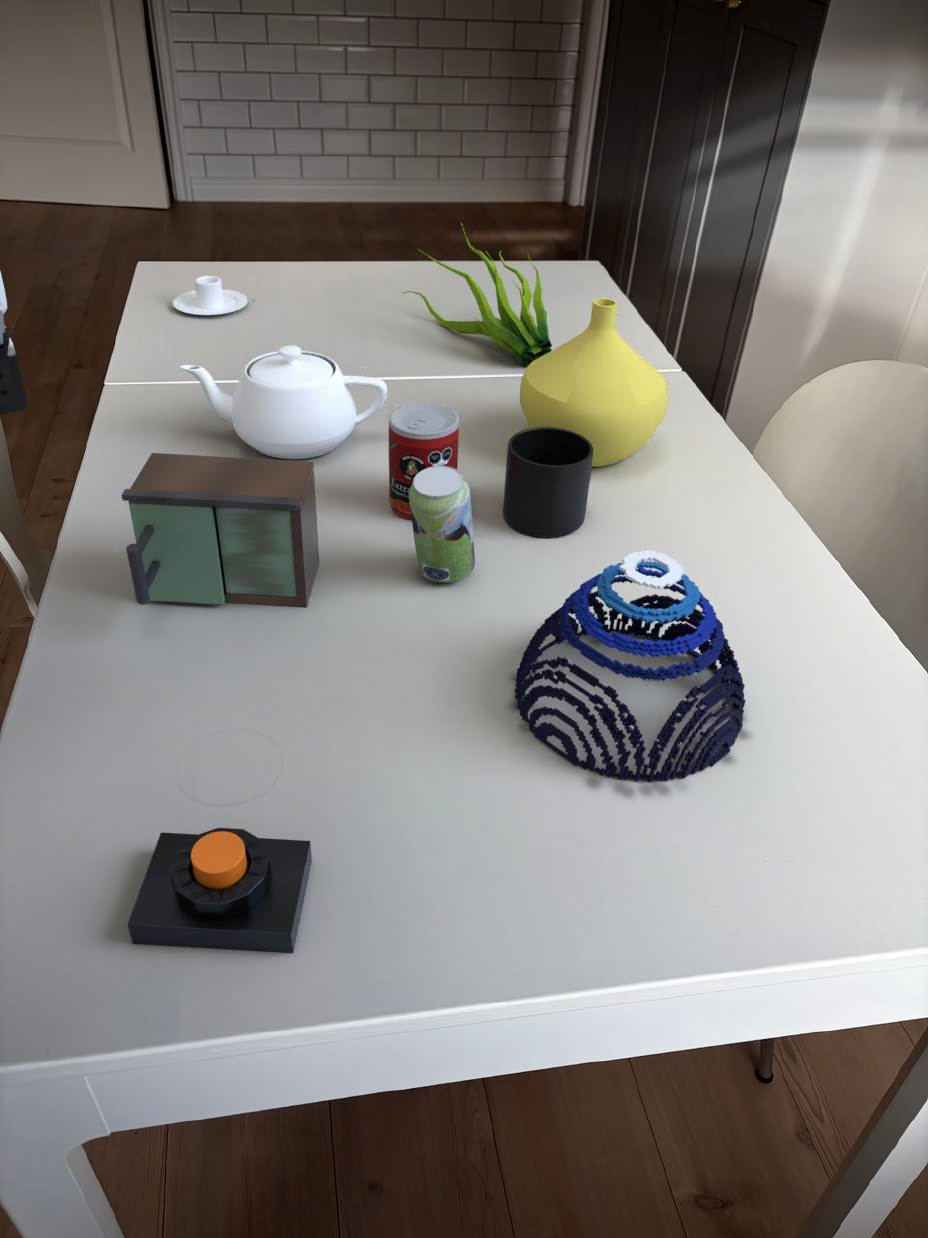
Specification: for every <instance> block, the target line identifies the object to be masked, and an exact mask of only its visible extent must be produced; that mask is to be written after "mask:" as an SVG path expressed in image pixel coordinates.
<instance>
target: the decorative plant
mask: <svg viewBox="0 0 928 1238" xmlns="http://www.w3.org/2000/svg"><path fill="white" fill-rule="evenodd" d="M460 224H461V228H462V231H463V233H464V236H465V241H466V242H467V245H468V247H469V248H470V250H471V251H472V252H474V253H475V254H477V255H478V256H479V257H480V259H481V260H482V261H483V262H484V264H485V266H486V268H487V270H488V272H489V274H490V277H491V279H492V281H493V283H494V285H495V294H496V295H495V296H496V303H497V312H498V314H499V318H498V317H496V316H495V314H494V312H493V308H492V306H490V304H489V302H488V300H487V297H486V295H485V293H484V291H483V290H482V289H481V288H480V286H479V285H478V284H477V282H476V281H475V280H474V279H473V277H472V276H471V275H470V274H469V273H466V272H464V271H462V270H459V269H456V268H454V267H451V266H450V265H448V264H445V263H443V262H441V261H439V260H437V259H436V258H434V257H431V256H430V255H428V254H427V253H425V252H424V251H422V250H421V249H420V248H417V249H418V251H420V252H421V253H422V254H423V255H425V256H427V257H428V258H429V259H431V260H432V261H433V262H435V263H436V264H438V265H440V266H441V267H443V268H444V269H446V270H448V271H450V272H451V273H454V274H456V275H458V276H460V277H462V278H463V279H465V281H466V283H467V285H468V287H469V289H470V291H471V293H472V295H473V296H474V299H475V301H476V304H477V308H478V310H479V313H480V315H481V318H482V320H479V319H478V318H477V317H474V319H476V320H465V321H463V320H461V321H460V320H459V321H458V320H446V319H444V318H443V316H441V315H440V314H439V313H438V312H437V311H436V310H435V309H434V307H433V306H432V305H431V303H430V301H429V300H428V298H427V297H426V296H425V295H423V293H421V292H417V291H411V290H407V291H403V292H401V294H406V293H413V294H416V295H419V296H420V298H422V299H423V301H424V303H425V305H426V307H427V309H428V311H429V314H431V315H432V316H433V317H434V318H435V320H436V321H437V322H438V323H439V324H440V325H441V326H443V327H445V328H448V329H449V330H453V331H455V332H457V333H459V334H467V335H468V334H469V335H481V336H486V337H489V338H491V339H492V340H493V341H494V342H496V344H497V345H498V346H500V348H502V349H503V350H505V351H506V352H508V353H510V354H511V355H513V357H515V358H516V359H517V361H518V362H520V363H521V364H525V366H527V367H528V366H529V365H530V364H531V363H532V362H533V361H534V360H536V359H538V358H540V357H542V356H543V355H545V354H547V353H549V352H551V351H553V349H552V347H553V345H552V342H551V340H550V335H549V327H548V321H547V319H548V318H547V317H548V315H547V311H546V309H545V306H544V302H543V299H542V294H543V293H542V292H543V287H542V284H541V278H540V274H539V273H540V272H539V270H538V269H537V267H536V266H535V265H534V264H533V262H532V260H531V258H530V256H529V255H527V257H528V260H529V262H530V264H531V265H532V267H533V268H534V270H535V287H534V291H533V293H532V292H531V287H530V285H529V281H528V280H527V279H526V278H525V277H524V276H523V274H522V273H521V272H520V271H519V270H518V269H516V268H514V267H511V266H509V265H507V263H506V262H505V260H504V258H503V257H502V255H501V253H502V250H500V252H499V253H498V256H499V258H500V260H501V263H502V265H503V268H506V269H507V270H509V271H510V272H512V273H514V274H515V275H516V277H517V278H518V280H519V281H520V283H521V288H520V287H519V286H518V285H517V284H516V283H515V282H514V281H513V280H512V279H511V282H512V283H513V284H514V285H515V286H516V288H517V289H518V291H519V294H520V295H519V296H520V301H521V304H520V305H521V306H520V313H519V315H520V317H518V315H517V314H516V313H515V311H514V310H513V309H512V307H511V306H510V303H509V299H508V296H507V293H506V289H505V286H504V285H505V284H504V282H503V279H502V278H501V276H500V275H499V273H498V269H497V266H496V264H495V262H494V260H493V259H492V257H491V256H490V255H489V253H488V251H485V253H486V254H487V255H488V257H487V256H486V254H484V253H483V251H482V250H478V249H476V248H475V247H473V246H472V245H471V244H470V241H469V239H468V237H467V235H466V232H465V229H464V225H463V222H460ZM531 303H532V307H533V309H534V311H535V318H534V316H533V315H532V313H531V311H530V306H531ZM535 320H536V321H535Z"/></svg>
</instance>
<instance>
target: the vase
mask: <svg viewBox="0 0 928 1238" xmlns="http://www.w3.org/2000/svg"><path fill="white" fill-rule="evenodd" d="M591 305H592V306H591V312H590V321H589V325H588V326H587V327H586V328H585V329H584V330H583V331H582V332H581V333H579V334H577V335H576V336H575V337H573V338H571V339H570V340H568V341H567V342H564V343H563V344H562V345H560V346H558V347H556V348H554V349H552V351H551V352H549V353H547V354H545V355H543V356H542V357H540V358H538V359H536V360H534V361H533V362H532V363H531V364H530V365H529V366H528V365H527V367H526V369H525V370H524V373H523V374H522V376H521V380H520V386H519V400H518V401H519V404H520V407H521V411H522V413H523V416H524V419H525V422H526V425H527V427H528V429H530V428H536V427H552V428H560V429H565V430H569V431H572V432H575V433H577V434H579V435H581V436H583V437H585V438H586V439H587V440H588V441H589V442H590V443H591V444H592V446H593V451H594V453H593V460H592V468H599V467H606V466H611V465H614V464H617V463H620V462H621V461H625V460H627V459H629V458H630V457H632V456H633V455H634V454H636V453H637V452H638V451H640V449H642V448H643V447H644V446H645V445H646V444H648V443H649V441H650V440H651V438H653V436H654V434H655V433H656V431H657V429H658V428H659V426H660V425H661V423H662V422H663V420H664V418H665V417H666V413H667V408H668V403H669V392H668V391H669V390H668V386H667V382H666V379H665V377H664V376H663V375H662V373H661V372H660V371H659V370H658V369H656V367H654V366H653V365H652V364H651V363H649V362H648V360H646V359H645V358H644V357H643V356H641V355H640V354H639V353H638V352H637V351H636V350H635V349H634V348H633V347H632V346H631V345H630V344H629V343H628V342H627V341H626V340H625V339H623V338H622V337H621V335H620V333H619V332H618V330H617V329H616V319H617V312H618V305H619V303H618V301H617V300H615V299H612V298H607V297H598V298H595V299H593V300H592V304H591Z"/></svg>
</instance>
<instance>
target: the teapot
mask: <svg viewBox="0 0 928 1238" xmlns="http://www.w3.org/2000/svg"><path fill="white" fill-rule="evenodd" d="M179 368H180V369H182V370H184V371H186V372H188V373H189V374H191V375H193V376H194V377H195V378H196V379H197V381H198V382H199V383H200V385H201V387H202V389H203V391H204V394H205V396H206V398H207V401H208V403H209V405H210V406H211V408H212V410H213V411H214V412H215V413H216V415H217V416H218V417H221V418H222V419H224V420H225V421H227V422H231V424H232V427H233V430H234V432H235V433H236V434H237V435H238V437H239V438H240V439H241V440H242V441H243V442H244V443H246V444H247V445H249V446H250V447H252V448H253V449H255V450H256V451H258V452H259V453H260V454H263V455H265V456H268V457H272V458H277V459H281V460H303V459H310V458H315V457H319V456H322V455H325V454H328V453H329V452H331V451H333V450H334V449H336V448H337V447H338V446H339V445H340V444H342V442H344V441H345V440H346V439H347V438H348V437H349V436H350V435H351V433H352V432H353V430H354V428H355V426H357V425H359V424H361V423H363V422H365V421H368V419H370V418H371V417H373V416H374V415H376V413H378V412H379V411H380V410H381V408H383V406H384V404H385V403H386V400H387V396H388V385H387V384H386V383H385V381H383V380H382V379H381V378H377V377H373V376H365V375H344V374H343V372H342V371H341V369H340V367H339V365H338V364H337V363H336V362H335V360H333V359H332V358H330V357H329V356H326V355H324V354H321V353H318V352H313V351H307V350H302V348H301V347H300V346H297V345H289V344H288V345H284V346H281V347H280V348H278V351H272V352H267V353H264V354H261V355H259V356H256V357H254V358H253V359H251V360H250V361H248V362H247V363H246V364H245V366H244V368H243V370H242V372H241V375H240V376H239V379H238V382H237V384H236V388H235V390H234V394H233V395H230V394H227V393H225V392H223V391H222V390H221V389H220V388H219V386H218V385H217V383H216V382H215V380H214V378H213V376H212V375H211V374H210V372H209V371H208V370H207V369H205V368H204V367H202V366H200V365H195V364H183V365H180V367H179ZM350 386H364V387H365V386H366V387H372V388H375V389H377V394H376V397H375V400H374V401H373V402H372V404H371V405H370V406H369V407H368V408H366V410H364V411H362V412H360V413H358V414H357V406H356V401H355V398H354V395H353V393H352V390H351V387H350Z"/></svg>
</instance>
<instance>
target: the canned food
mask: <svg viewBox="0 0 928 1238" xmlns="http://www.w3.org/2000/svg"><path fill="white" fill-rule="evenodd" d="M459 441H460V418H459V415H458V412H456V411H455V410H454V409H452V408H451V407H448V406H446V405H443V404H440V403H433V402H414V403H409V404H405V405H402V406H399V407H397V408H396V409H394V410H393V411H392V412H391V413H390V414H389V418H388V497H389V498H388V499H389V503H390V506H391V508H392V510H393V512H395V513H396V514H398V515H399V516H401V517H403V518H405V519H409V520H412V517H411V509H410V501H409V491H410V488H411V486H412V484H413V480H414V478H415V476H416V475H417V474H418V473H419V472H421V471H422V470H424V469H426V468H429V467H434V466H448V467H452V468H454V469H456V470H458V465H459V464H458V463H459V444H460V443H459Z"/></svg>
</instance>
